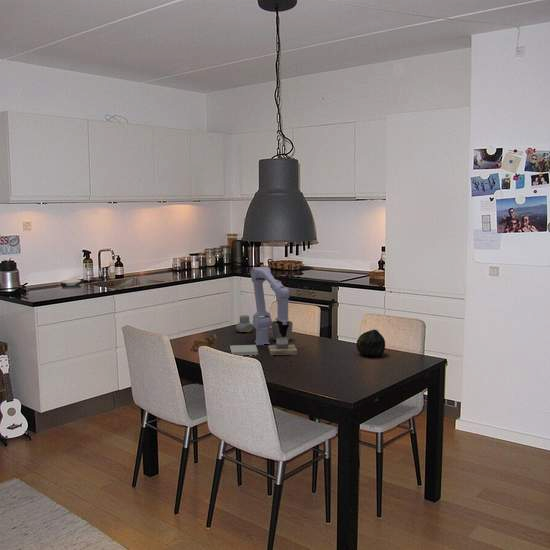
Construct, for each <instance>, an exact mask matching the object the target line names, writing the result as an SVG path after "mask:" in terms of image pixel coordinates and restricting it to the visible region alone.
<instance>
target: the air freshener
mask: <svg viewBox="0 0 550 550" xmlns="http://www.w3.org/2000/svg"><path fill="white" fill-rule="evenodd" d="M253 329H254V326H253V323H252V322H250V316H249V315H247V314H244V315H243V314H242V315H240V316H239V322H238V323H237V324H236V325H235V330H236V331H237V332H239V333H241V332H248V333H250V332H252V331H253Z"/></svg>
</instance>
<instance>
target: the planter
mask: <svg viewBox="0 0 550 550" xmlns="http://www.w3.org/2000/svg"><path fill="white" fill-rule="evenodd" d="M286 324H289V327H288V329H287V333H286V337H282V336H281V334H280V332H279V327H278V323H277V320H272V325H271V326H270V329H271V336H272V339H273V340H274V341H275V340H276V338H288V341H290V340H291V338H292V335H293V321H291V320H288V321H287V322H286Z"/></svg>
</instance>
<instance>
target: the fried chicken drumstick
mask: <svg viewBox="0 0 550 550" xmlns="http://www.w3.org/2000/svg"><path fill="white" fill-rule="evenodd" d="M217 341H218V335H217V334H215V333H213V334H211V335H209V336H208V337H207V338H205V339H201V338H196V339H195V340H194V341H193V343H192V344H193V345H192V347H191V349H190V351H197V352H198V350H199V347H200V346H202V347H207V348H208V347H212V346H214V345H215V344H216V343H217Z"/></svg>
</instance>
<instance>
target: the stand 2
mask: <svg viewBox="0 0 550 550" xmlns="http://www.w3.org/2000/svg"><path fill="white" fill-rule="evenodd" d="M267 346H268V348H267V349H269V350H268V352H269V351H270V352H269V354H270V356H271V357H274V356H273V355H291V356H298V349H297V347H296V346H295V344H294V343H288V349H277V348H276V344H270V345H267Z"/></svg>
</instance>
